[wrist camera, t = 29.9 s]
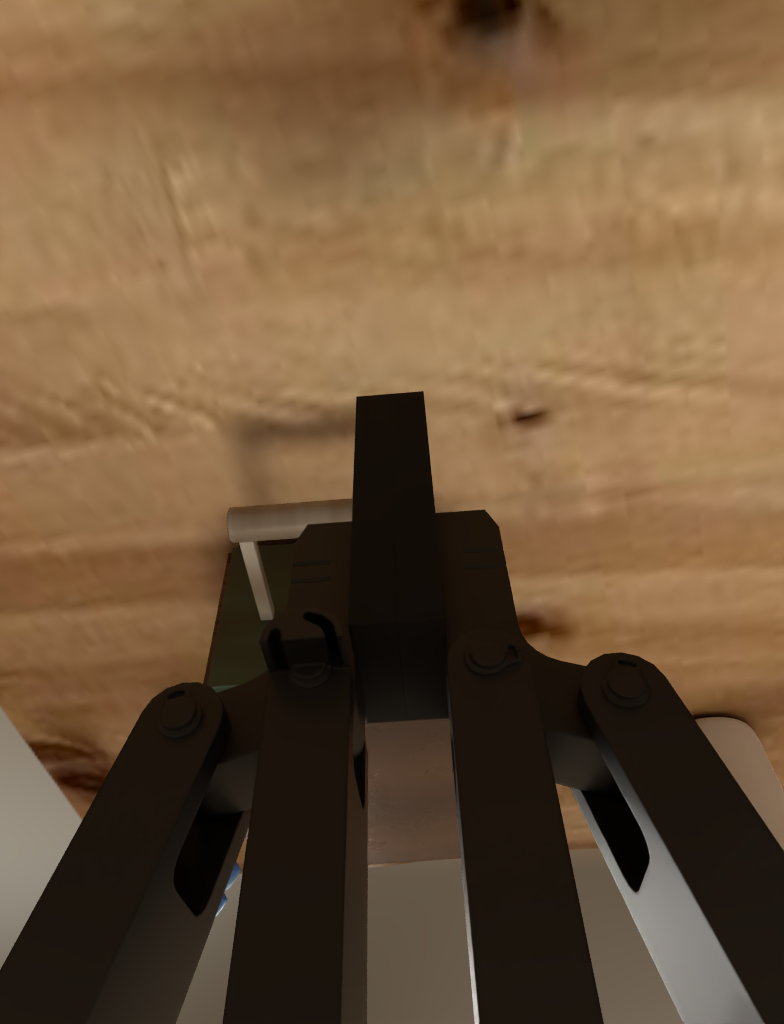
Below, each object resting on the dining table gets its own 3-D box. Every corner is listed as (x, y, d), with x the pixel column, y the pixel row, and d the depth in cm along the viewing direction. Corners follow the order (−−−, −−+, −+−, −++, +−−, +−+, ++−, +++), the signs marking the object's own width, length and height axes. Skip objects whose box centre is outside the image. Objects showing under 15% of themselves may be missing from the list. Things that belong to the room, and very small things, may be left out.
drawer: (202, 445, 31) (164, 583, 25) (461, 426, 31) (488, 559, 24) (277, 703, 44) (265, 836, 37) (460, 690, 44) (478, 821, 37)
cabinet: (228, 552, 36) (194, 724, 29) (470, 535, 36) (501, 702, 29) (275, 712, 46) (260, 872, 38) (467, 698, 46) (490, 856, 38)
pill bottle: (622, 767, 52) (696, 1005, 41) (674, 707, 47) (775, 958, 36) (716, 776, 54) (813, 1007, 43) (776, 718, 49) (904, 963, 38)
